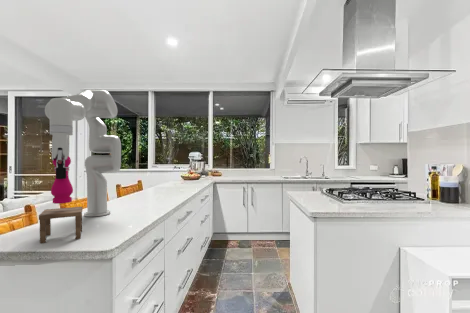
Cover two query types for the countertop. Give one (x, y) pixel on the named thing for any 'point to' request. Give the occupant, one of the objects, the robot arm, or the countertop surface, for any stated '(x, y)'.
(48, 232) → the walnut stool
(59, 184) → the pepper mill
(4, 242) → the countertop surface
